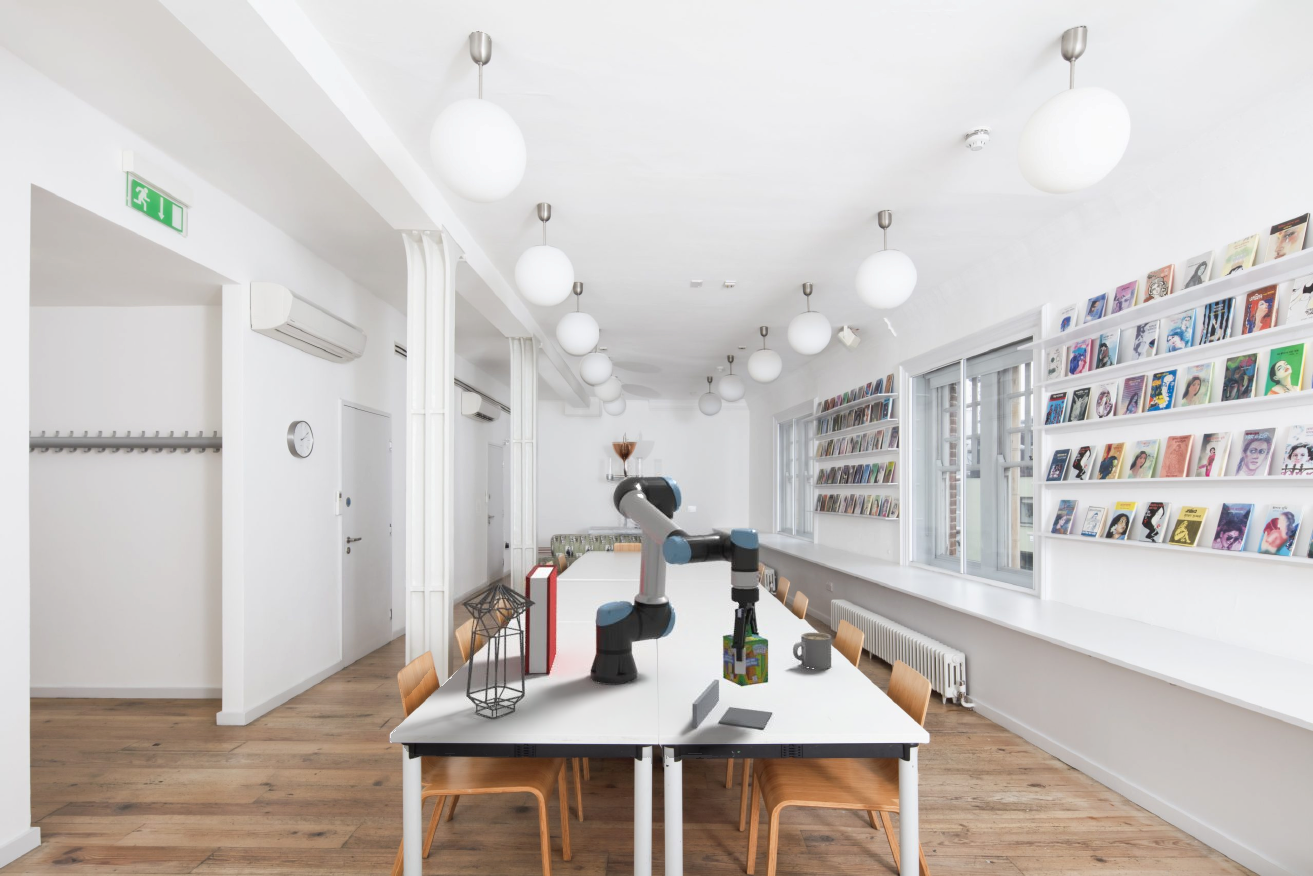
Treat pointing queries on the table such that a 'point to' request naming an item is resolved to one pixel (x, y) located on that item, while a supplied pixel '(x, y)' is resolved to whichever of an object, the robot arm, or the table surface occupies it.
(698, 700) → the low wall
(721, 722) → the mat
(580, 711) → the table surface
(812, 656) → the coffee mug
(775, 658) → the table surface
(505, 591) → the geometric lantern
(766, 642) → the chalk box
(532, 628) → the book
